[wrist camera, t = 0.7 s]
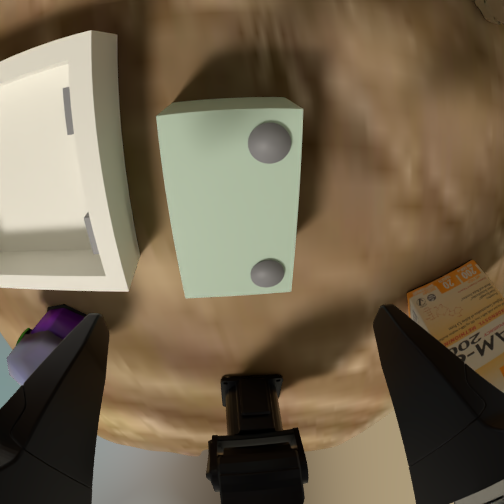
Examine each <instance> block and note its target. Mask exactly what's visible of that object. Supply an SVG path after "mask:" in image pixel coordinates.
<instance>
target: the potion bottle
mask: <svg viewBox="0 0 504 504" xmlns="http://www.w3.org/2000/svg"><path fill="white" fill-rule="evenodd" d="M86 316H87V315H86V314H84V313H82V312H80V311H78V310H75V309H73V308H71V307H69V306H67V305H65V304H63V305H57V306H52V307H48V311H47V313H46V314H45V315H44V317H43V318H42V319H41V320H40V321H39V323H38V324H37V325H36V326H35V328H34V329H33V330H32V329H30V328H27V329H26V330H25V331H24V332H23V333H22V334H21V336H20V337H19V339H18V341H17V344H16V347H15V348H14V349H13V351H12V352H11V353H10V354H9V356H8V357H7V362H8V369H9V375H10V376H11V377H12V378H13V379H15V380H16V381H17V382H18V383H19V384H20V385H21V386H22V385H24V382H25V381H26V380H27V379H28V378H29V377H30V375H31V374H32V373H33V372H34V371H35V370H36V369H37V368H38V366H39V365H40V364H41V363H42V362H43V361H44V360H45V359H46V358H47V357H48V356H49V354H50V353H51V352H52V351H53V350H54V349H55V348H56V347H57V346H58V345H59V344H60V343H61V342H62V341H63V340H64V338H65V337H66V336H67V335H68V334H69V333H70V332H71V331H72V330H73V329H74V328H75V327H76V326H77V325H78V324H79V323H80V322H81V321H82V320H83V319H84V318H85V317H86Z"/></svg>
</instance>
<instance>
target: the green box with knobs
mask: <svg viewBox="0 0 504 504" xmlns="http://www.w3.org/2000/svg"><path fill="white" fill-rule="evenodd" d="M156 119H157V129H158V137H159V146H160V154H161V162H162V169H163V176H164V183H165V190H166V196H167V203H168V209H169V215H170V221H171V227H172V233H173V238H174V244H175V249H176V254H177V259H178V265H179V270H180V275H181V279H182V284H183V289H184V294H185V298H202V297H221V296H238V295H253V294H267V293H281V292H291V288H292V278H293V267H294V255H295V243H296V231H297V218H298V203H299V188H300V171H301V153H302V131H303V108H301V107H299V106H298V105H296V104H295V103H293V102H291V101H290V100H288V99H286V98H285V97H242V98H220V99H206V100H194V101H183V102H174V103H172V104H170V105H169V106H168V107H167V108H165V109H164V110H163V111H162V112H161V113H159V114H158V115H157V116H156Z"/></svg>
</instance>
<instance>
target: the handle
mask: <svg viewBox="0 0 504 504" xmlns="http://www.w3.org/2000/svg"><path fill="white" fill-rule="evenodd" d="M474 2H475V5H476V6H477V7H478V8H479V9H480V10H481V12H482V14H483V16H484V18H485V19H486V20H487V21H489V22H492V23H495V24H499V25H500V23H503V24H504V0H474Z"/></svg>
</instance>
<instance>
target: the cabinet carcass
mask: <svg viewBox="0 0 504 504" xmlns="http://www.w3.org/2000/svg"><path fill="white" fill-rule="evenodd" d="M139 258H140V252H139V247H138V242H137V237H136V232H135V226H134V221H133V215H132V209H131V203H130V196H129V190H128V183H127V176H126V168H125V160H124V151H123V142H122V132H121V120H120V106H119V89H118V57H117V34H112V33H106V32H100V31H94V30H90V31H86V32H82V33H78V34H75V35H71V36H68V37H64V38H61V39H58V40H55V41H51V42H48V43H46V44H43V45H40V46H37V47H34V48H32V49H29V50H26V51H24V52H21V53H19V54H16V55H14V56H12V57H9V58H7V59H5V60H3V61H0V287H2V288H20V289H42V290H70V291H116V292H129V290H130V286H131V283H132V280H133V277H134V273H135V270H136V267H137V264H138V261H139Z"/></svg>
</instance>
